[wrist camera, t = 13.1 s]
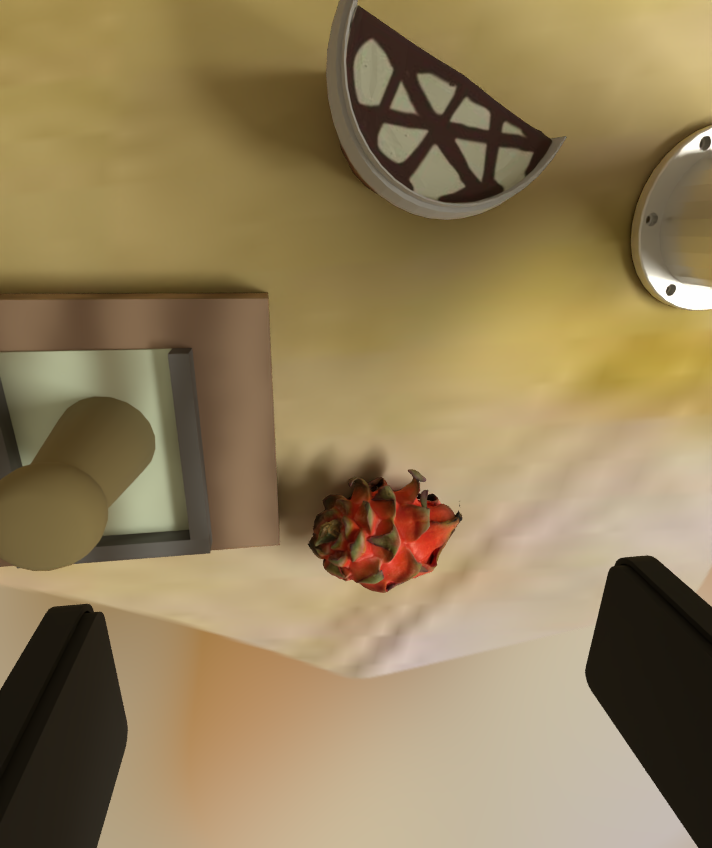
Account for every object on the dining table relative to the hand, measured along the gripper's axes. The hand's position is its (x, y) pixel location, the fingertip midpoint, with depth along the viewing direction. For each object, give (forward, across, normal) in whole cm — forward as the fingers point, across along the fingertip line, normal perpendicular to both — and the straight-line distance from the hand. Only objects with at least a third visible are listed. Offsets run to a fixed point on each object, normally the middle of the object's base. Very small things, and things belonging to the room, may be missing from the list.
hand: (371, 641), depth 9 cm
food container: (+28, -6, -11) cm, 31 cm away
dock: (+28, +13, +6) cm, 31 cm away
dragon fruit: (+28, -6, +14) cm, 32 cm away
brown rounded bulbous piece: (+25, +13, +6) cm, 29 cm away
